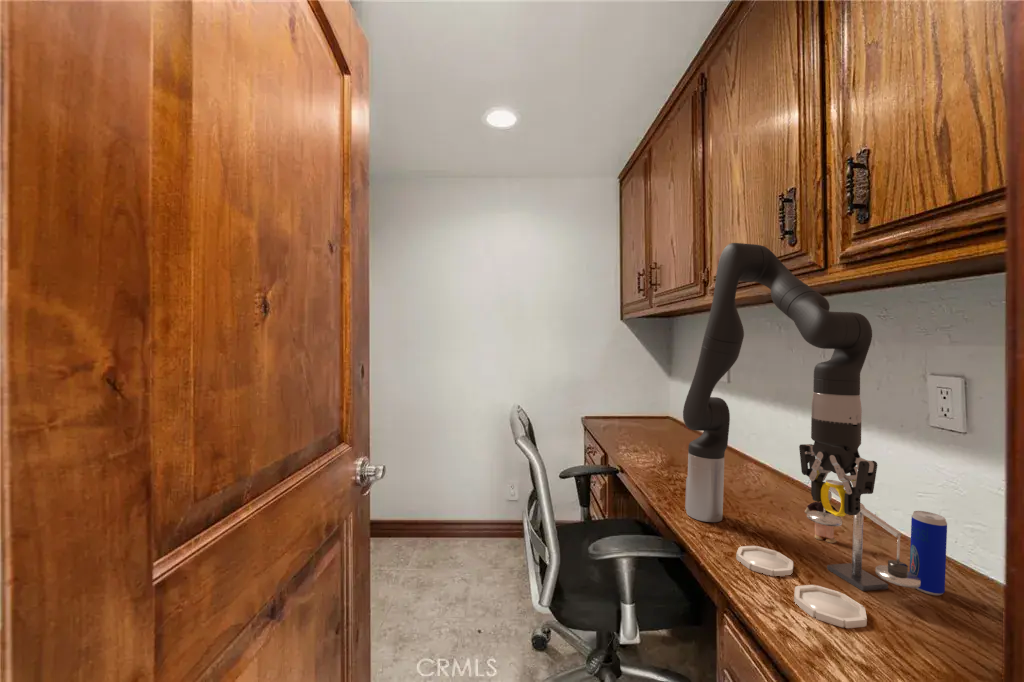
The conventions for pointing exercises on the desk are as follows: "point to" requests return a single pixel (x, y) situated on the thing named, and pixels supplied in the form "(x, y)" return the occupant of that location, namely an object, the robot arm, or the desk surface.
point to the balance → (853, 572)
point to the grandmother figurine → (821, 529)
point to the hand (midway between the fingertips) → (834, 507)
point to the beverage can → (928, 551)
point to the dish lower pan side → (830, 606)
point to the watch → (825, 499)
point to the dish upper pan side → (764, 560)
